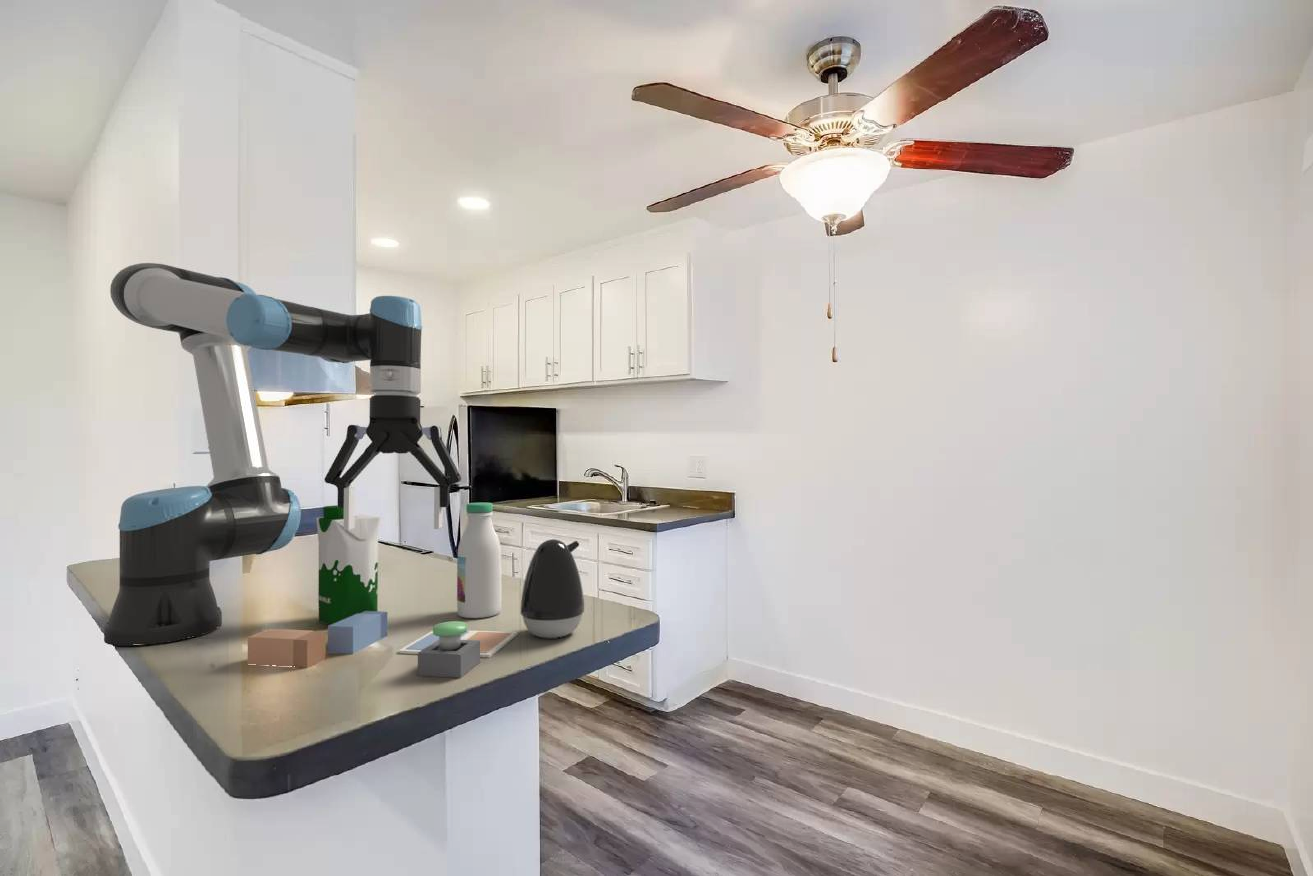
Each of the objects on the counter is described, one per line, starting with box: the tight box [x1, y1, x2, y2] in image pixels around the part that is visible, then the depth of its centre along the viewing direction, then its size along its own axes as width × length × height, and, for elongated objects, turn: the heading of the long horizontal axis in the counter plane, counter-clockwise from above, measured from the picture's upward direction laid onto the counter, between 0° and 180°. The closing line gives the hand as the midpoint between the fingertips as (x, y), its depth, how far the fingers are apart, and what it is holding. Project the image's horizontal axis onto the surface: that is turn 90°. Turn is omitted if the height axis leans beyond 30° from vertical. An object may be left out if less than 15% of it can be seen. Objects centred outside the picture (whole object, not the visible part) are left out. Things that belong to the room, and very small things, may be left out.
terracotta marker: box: [247, 628, 327, 669], centre depth 89 cm, size 9×4×4 cm, turn 82°
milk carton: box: [315, 505, 381, 626], centre depth 110 cm, size 9×9×20 cm
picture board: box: [397, 629, 518, 659], centre depth 96 cm, size 14×11×1 cm
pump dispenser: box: [519, 539, 585, 639], centre depth 102 cm, size 10×10×15 cm
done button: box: [432, 620, 468, 650], centre depth 86 cm, size 4×4×3 cm
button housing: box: [417, 640, 481, 679], centre depth 86 cm, size 6×6×3 cm
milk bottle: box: [456, 502, 502, 619], centre depth 114 cm, size 8×8×20 cm
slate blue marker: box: [327, 610, 388, 655], centre depth 97 cm, size 9×4×4 cm, turn 172°
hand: (394, 528), depth 100 cm, fingers open, 13 cm apart
